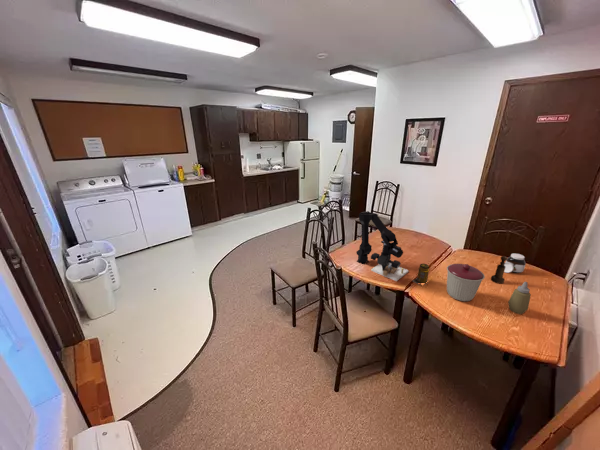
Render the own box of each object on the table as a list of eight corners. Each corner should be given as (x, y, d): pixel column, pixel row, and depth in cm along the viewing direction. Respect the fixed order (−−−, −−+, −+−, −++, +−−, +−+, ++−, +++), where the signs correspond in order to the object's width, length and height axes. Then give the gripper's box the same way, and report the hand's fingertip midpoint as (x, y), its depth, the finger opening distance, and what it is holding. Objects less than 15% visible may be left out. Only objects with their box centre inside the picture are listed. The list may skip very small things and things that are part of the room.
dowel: (400, 273, 166) (401, 268, 164) (401, 272, 166) (402, 267, 165) (402, 273, 165) (403, 268, 163) (403, 273, 166) (403, 268, 164)
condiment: (429, 282, 157) (432, 265, 153) (422, 286, 153) (425, 270, 148) (419, 277, 163) (421, 261, 159) (411, 281, 158) (414, 265, 154)
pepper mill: (501, 279, 158) (508, 254, 151) (505, 284, 152) (513, 259, 146) (489, 277, 160) (496, 253, 154) (492, 282, 154) (500, 258, 148)
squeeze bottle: (502, 306, 133) (511, 278, 127) (516, 305, 134) (525, 277, 128) (515, 316, 126) (526, 287, 120) (530, 315, 126) (541, 286, 120)
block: (386, 265, 175) (386, 261, 174) (397, 268, 170) (398, 264, 169) (378, 273, 165) (379, 269, 164) (390, 277, 160) (390, 273, 159)
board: (371, 270, 172) (371, 264, 170) (383, 262, 182) (384, 256, 181) (396, 281, 158) (397, 274, 157) (408, 271, 169) (409, 265, 167)
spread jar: (523, 270, 166) (528, 255, 162) (522, 277, 159) (527, 262, 154) (500, 265, 174) (505, 250, 170) (499, 271, 166) (503, 256, 162)
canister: (436, 286, 152) (442, 257, 144) (465, 286, 151) (473, 256, 144) (452, 305, 135) (460, 273, 128) (485, 305, 134) (495, 273, 127)
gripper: (368, 250, 159) (365, 270, 165) (395, 260, 147) (391, 281, 153) (375, 244, 167) (372, 264, 173) (402, 254, 155) (398, 274, 161)
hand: (383, 271), depth 165 cm, fingers closed, pressing on block
